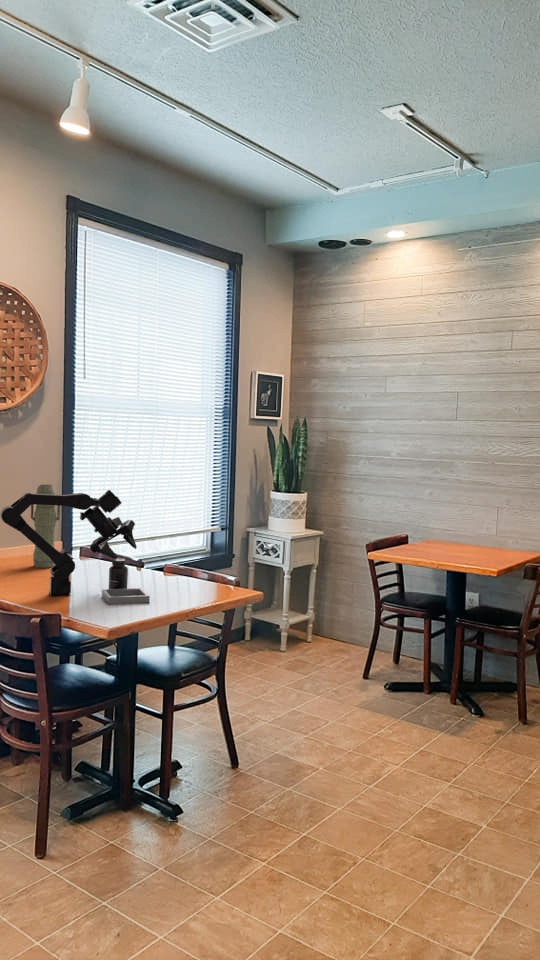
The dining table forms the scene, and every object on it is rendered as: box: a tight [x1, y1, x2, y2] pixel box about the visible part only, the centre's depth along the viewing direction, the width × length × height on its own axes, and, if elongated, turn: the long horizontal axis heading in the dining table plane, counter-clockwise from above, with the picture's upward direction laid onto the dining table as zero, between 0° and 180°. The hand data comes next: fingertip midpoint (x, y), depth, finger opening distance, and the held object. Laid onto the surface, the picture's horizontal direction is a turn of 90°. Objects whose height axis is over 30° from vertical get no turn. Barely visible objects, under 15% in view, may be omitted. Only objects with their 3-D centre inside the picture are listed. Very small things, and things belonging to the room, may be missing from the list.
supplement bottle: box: [108, 557, 129, 589], centre depth 284 cm, size 7×7×12 cm
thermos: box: [30, 484, 61, 569], centre depth 330 cm, size 9×12×35 cm
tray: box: [101, 587, 151, 606], centre depth 271 cm, size 14×14×2 cm
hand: (126, 553), depth 284 cm, fingers open, 9 cm apart
